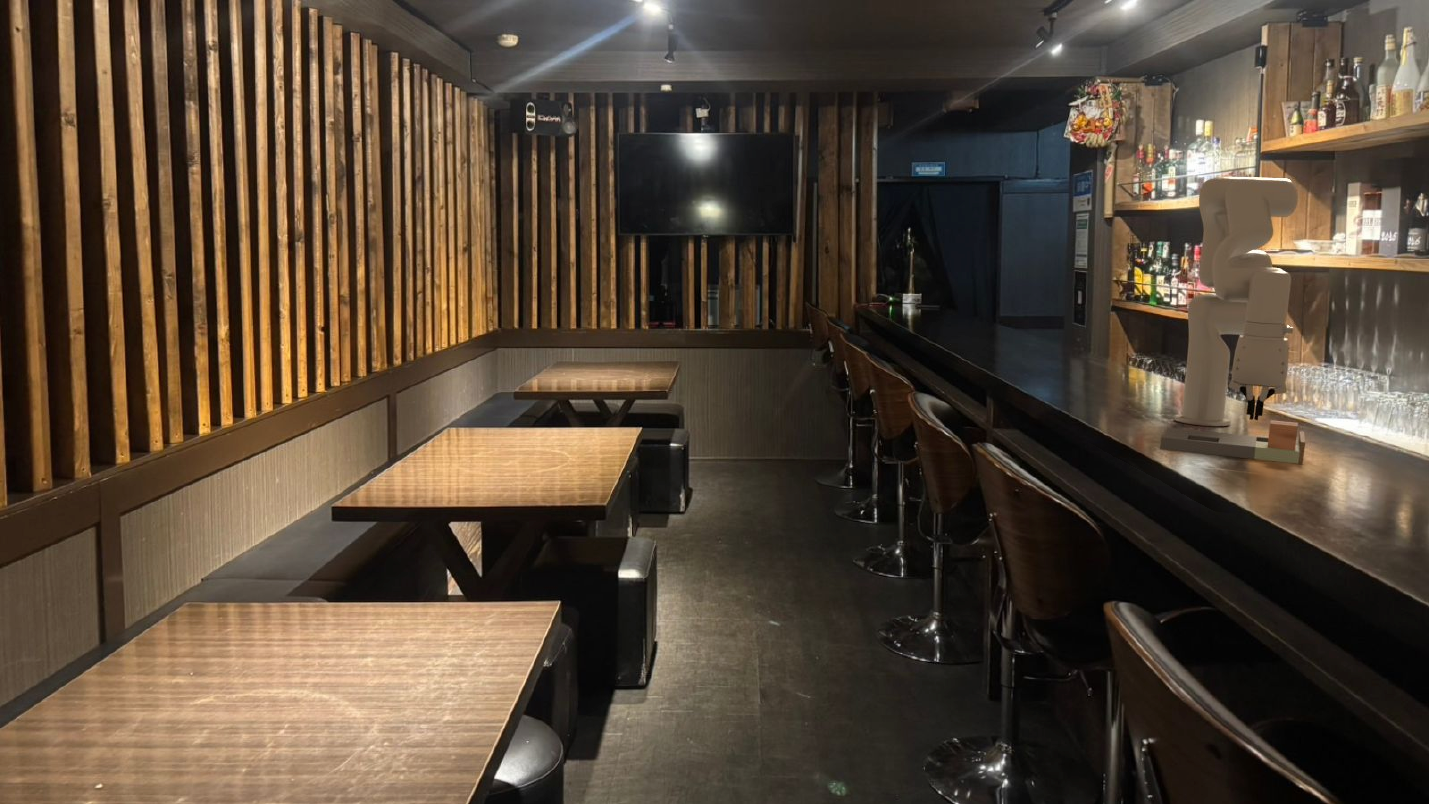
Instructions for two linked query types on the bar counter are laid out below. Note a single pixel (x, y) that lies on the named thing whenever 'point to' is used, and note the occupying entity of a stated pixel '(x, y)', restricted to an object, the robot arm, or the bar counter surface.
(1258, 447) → the deck
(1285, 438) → the block
